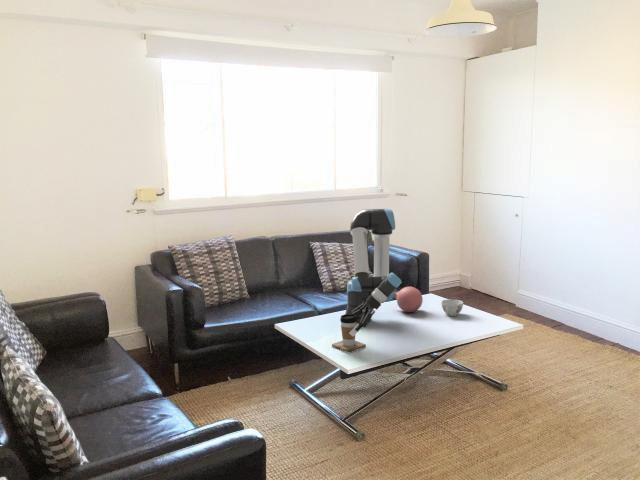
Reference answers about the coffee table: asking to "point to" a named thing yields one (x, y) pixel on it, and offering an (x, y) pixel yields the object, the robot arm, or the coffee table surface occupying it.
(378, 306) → the robot arm
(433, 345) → the coffee table surface
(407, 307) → the pink rubber ball
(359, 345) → the plate
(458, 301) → the teacup
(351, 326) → the coffee cup
